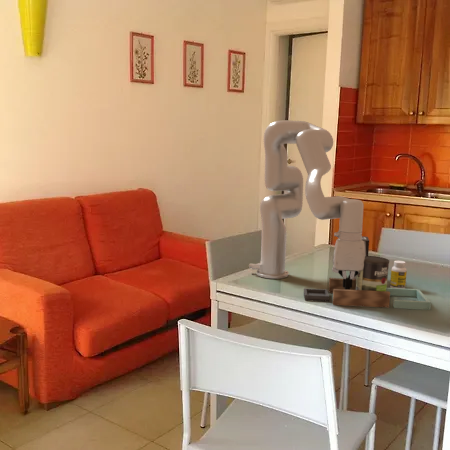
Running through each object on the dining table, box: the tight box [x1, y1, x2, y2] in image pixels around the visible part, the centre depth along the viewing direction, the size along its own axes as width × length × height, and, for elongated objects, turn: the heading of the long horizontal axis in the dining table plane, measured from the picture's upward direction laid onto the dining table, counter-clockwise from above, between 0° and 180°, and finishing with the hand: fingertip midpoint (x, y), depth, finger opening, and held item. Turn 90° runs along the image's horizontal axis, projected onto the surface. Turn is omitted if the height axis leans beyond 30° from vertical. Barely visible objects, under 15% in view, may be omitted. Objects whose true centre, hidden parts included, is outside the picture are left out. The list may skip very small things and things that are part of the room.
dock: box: [386, 287, 431, 311], centre depth 185 cm, size 12×15×2 cm
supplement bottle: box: [389, 260, 408, 289], centre depth 201 cm, size 5×5×10 cm
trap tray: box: [303, 287, 330, 302], centre depth 188 cm, size 8×8×2 cm
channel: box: [328, 277, 391, 309], centre depth 186 cm, size 18×15×5 cm
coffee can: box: [356, 255, 390, 291], centre depth 185 cm, size 10×10×14 cm
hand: (347, 289), depth 186 cm, fingers closed
